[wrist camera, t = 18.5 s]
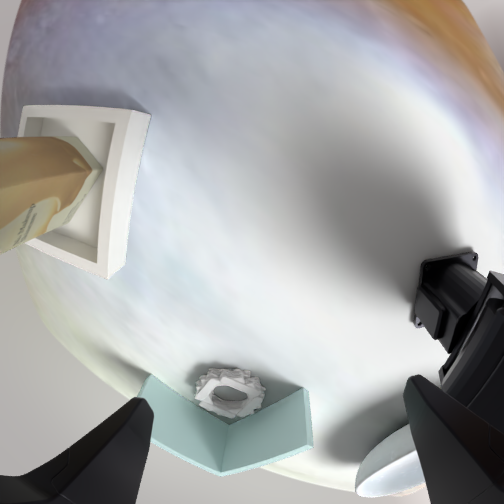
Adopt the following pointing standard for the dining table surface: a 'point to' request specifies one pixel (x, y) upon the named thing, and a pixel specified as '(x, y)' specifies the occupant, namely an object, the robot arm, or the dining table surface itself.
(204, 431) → the right angle wall
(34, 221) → the skincare box
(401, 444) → the serving bowl
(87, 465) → the robot arm
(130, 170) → the holder tray
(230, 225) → the dining table surface
